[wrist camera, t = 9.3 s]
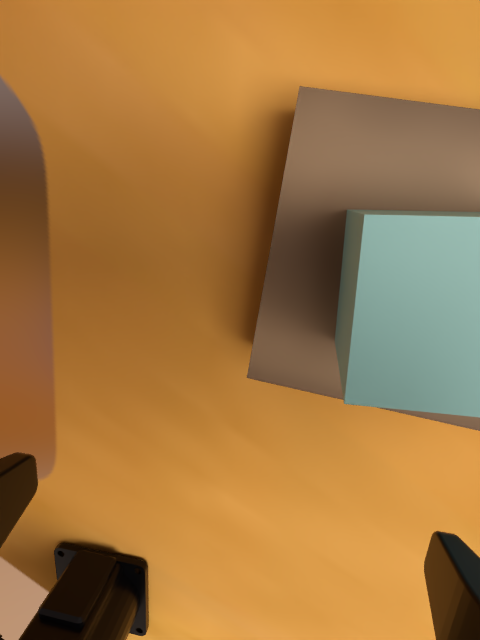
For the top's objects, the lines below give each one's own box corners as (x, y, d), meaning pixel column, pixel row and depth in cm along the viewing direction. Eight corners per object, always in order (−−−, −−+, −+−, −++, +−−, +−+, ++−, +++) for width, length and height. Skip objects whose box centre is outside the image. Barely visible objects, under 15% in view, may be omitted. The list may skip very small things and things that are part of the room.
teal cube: (471, 351, 14) (548, 424, 10) (334, 341, 15) (344, 403, 11) (500, 212, 13) (607, 219, 8) (347, 209, 14) (364, 214, 9)
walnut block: (458, 387, 19) (494, 434, 15) (259, 344, 20) (246, 377, 16) (550, 146, 15) (626, 128, 12) (303, 111, 17) (299, 86, 13)
